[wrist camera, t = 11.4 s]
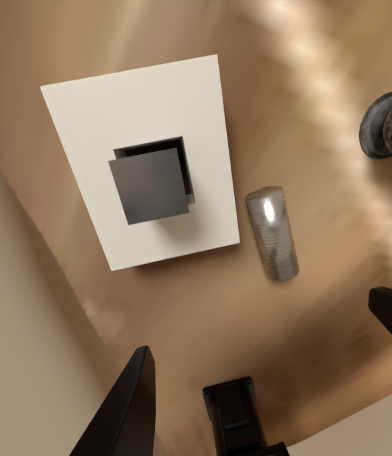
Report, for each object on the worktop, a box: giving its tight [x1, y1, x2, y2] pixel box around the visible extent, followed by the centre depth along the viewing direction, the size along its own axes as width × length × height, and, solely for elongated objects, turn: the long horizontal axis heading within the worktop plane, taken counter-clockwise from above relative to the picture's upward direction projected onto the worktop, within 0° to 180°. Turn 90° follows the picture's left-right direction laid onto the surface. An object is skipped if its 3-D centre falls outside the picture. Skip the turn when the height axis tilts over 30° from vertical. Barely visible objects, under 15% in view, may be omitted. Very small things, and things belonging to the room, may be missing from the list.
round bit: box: [245, 186, 299, 280], centre depth 19 cm, size 8×3×3 cm, turn 20°
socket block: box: [40, 54, 240, 271], centre depth 15 cm, size 12×10×4 cm
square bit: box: [108, 148, 189, 225], centre depth 13 cm, size 3×3×8 cm
